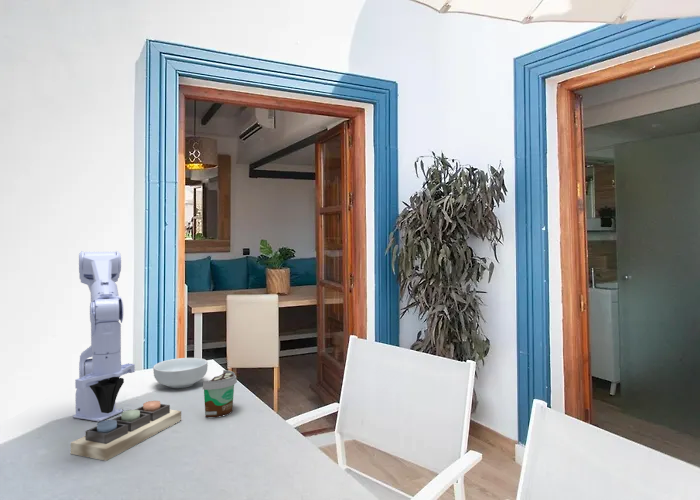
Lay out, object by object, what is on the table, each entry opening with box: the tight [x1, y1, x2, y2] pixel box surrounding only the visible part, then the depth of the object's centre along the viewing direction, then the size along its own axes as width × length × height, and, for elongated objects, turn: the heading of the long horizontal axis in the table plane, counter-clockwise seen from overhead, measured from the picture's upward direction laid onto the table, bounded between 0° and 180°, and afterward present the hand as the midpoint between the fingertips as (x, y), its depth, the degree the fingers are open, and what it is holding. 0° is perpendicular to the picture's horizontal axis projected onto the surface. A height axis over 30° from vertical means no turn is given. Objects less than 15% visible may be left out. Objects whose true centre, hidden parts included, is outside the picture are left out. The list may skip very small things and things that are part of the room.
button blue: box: [96, 419, 117, 433], centre depth 105 cm, size 4×4×2 cm
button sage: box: [121, 409, 140, 422], centre depth 112 cm, size 4×4×2 cm
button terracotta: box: [142, 400, 161, 412], centre depth 119 cm, size 4×4×2 cm
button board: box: [70, 403, 182, 462], centre depth 112 cm, size 10×24×4 cm, turn 161°
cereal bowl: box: [153, 357, 209, 389], centre depth 153 cm, size 17×17×7 cm
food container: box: [202, 369, 238, 418], centre depth 128 cm, size 12×6×10 cm, turn 168°
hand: (106, 411), depth 105 cm, fingers closed
